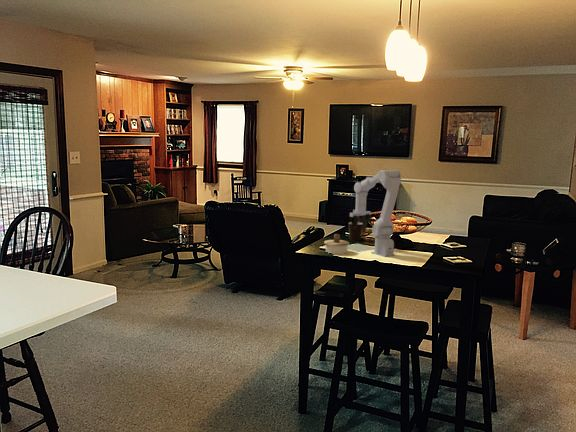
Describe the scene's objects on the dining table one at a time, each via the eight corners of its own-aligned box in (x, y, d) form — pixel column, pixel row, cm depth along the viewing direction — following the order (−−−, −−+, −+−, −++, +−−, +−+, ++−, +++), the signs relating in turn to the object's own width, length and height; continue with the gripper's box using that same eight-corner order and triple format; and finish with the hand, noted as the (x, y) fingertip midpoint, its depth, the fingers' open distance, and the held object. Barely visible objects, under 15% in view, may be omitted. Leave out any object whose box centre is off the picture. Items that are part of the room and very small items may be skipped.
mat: (377, 248, 268) (377, 248, 268) (358, 252, 259) (358, 251, 259) (357, 243, 280) (357, 243, 280) (338, 247, 270) (338, 246, 270)
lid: (354, 244, 256) (354, 235, 256) (336, 247, 248) (336, 238, 248) (337, 240, 267) (337, 231, 266) (319, 242, 259) (319, 233, 258)
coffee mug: (357, 242, 285) (358, 225, 283) (344, 240, 290) (345, 223, 289) (367, 239, 294) (368, 222, 293) (354, 237, 299) (355, 221, 298)
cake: (366, 235, 306) (368, 206, 303) (352, 235, 305) (353, 206, 302) (361, 232, 317) (363, 204, 314) (347, 232, 315) (348, 204, 313)
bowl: (351, 252, 257) (351, 244, 256) (335, 255, 250) (336, 246, 250) (336, 248, 266) (337, 240, 265) (321, 251, 259) (321, 243, 258)
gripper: (364, 202, 278) (363, 226, 280) (346, 204, 269) (345, 228, 271) (374, 204, 272) (372, 228, 274) (355, 205, 264) (354, 230, 266)
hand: (359, 228), depth 272 cm, fingers open, 7 cm apart
